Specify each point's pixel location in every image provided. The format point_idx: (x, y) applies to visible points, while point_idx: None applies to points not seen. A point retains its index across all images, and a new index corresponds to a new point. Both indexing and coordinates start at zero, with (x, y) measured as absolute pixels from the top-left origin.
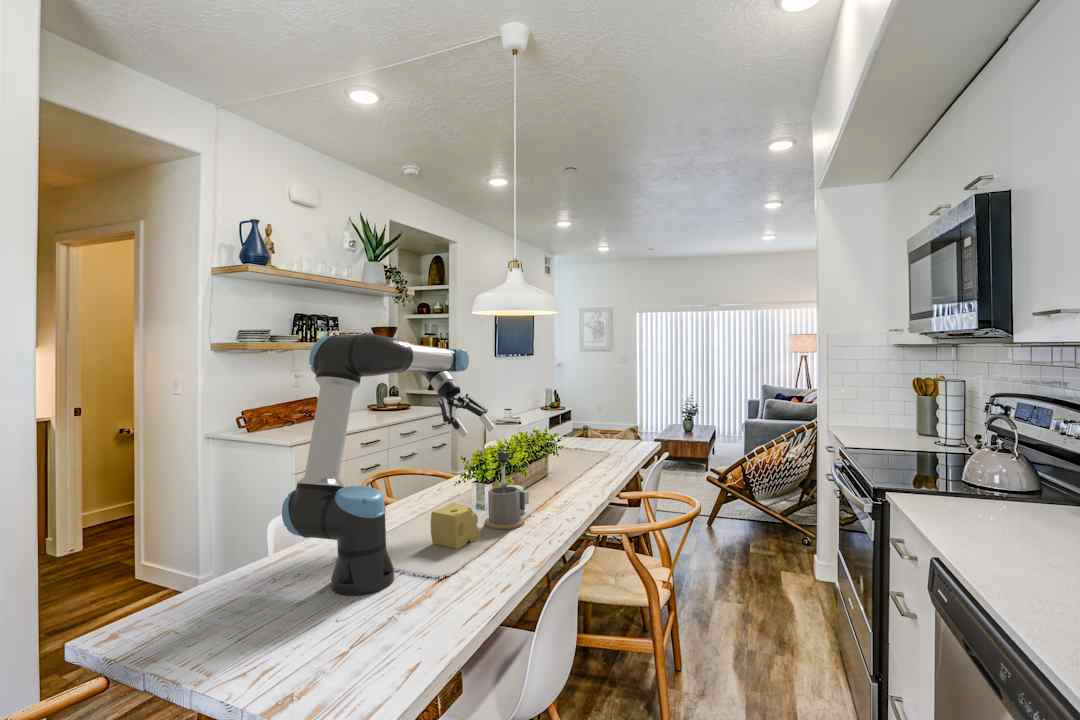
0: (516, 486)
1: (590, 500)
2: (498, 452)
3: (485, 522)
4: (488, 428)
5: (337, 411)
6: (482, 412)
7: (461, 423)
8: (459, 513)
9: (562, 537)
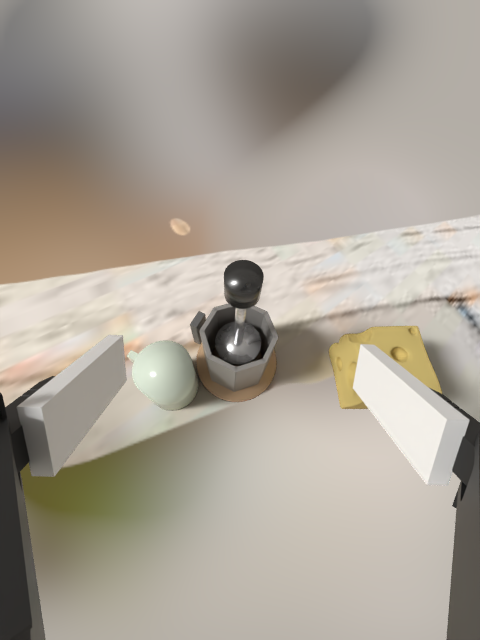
0: (145, 366)
1: (33, 298)
2: (254, 285)
3: (268, 385)
4: (117, 380)
5: None
6: (8, 433)
7: (401, 381)
8: (405, 328)
9: (246, 252)
